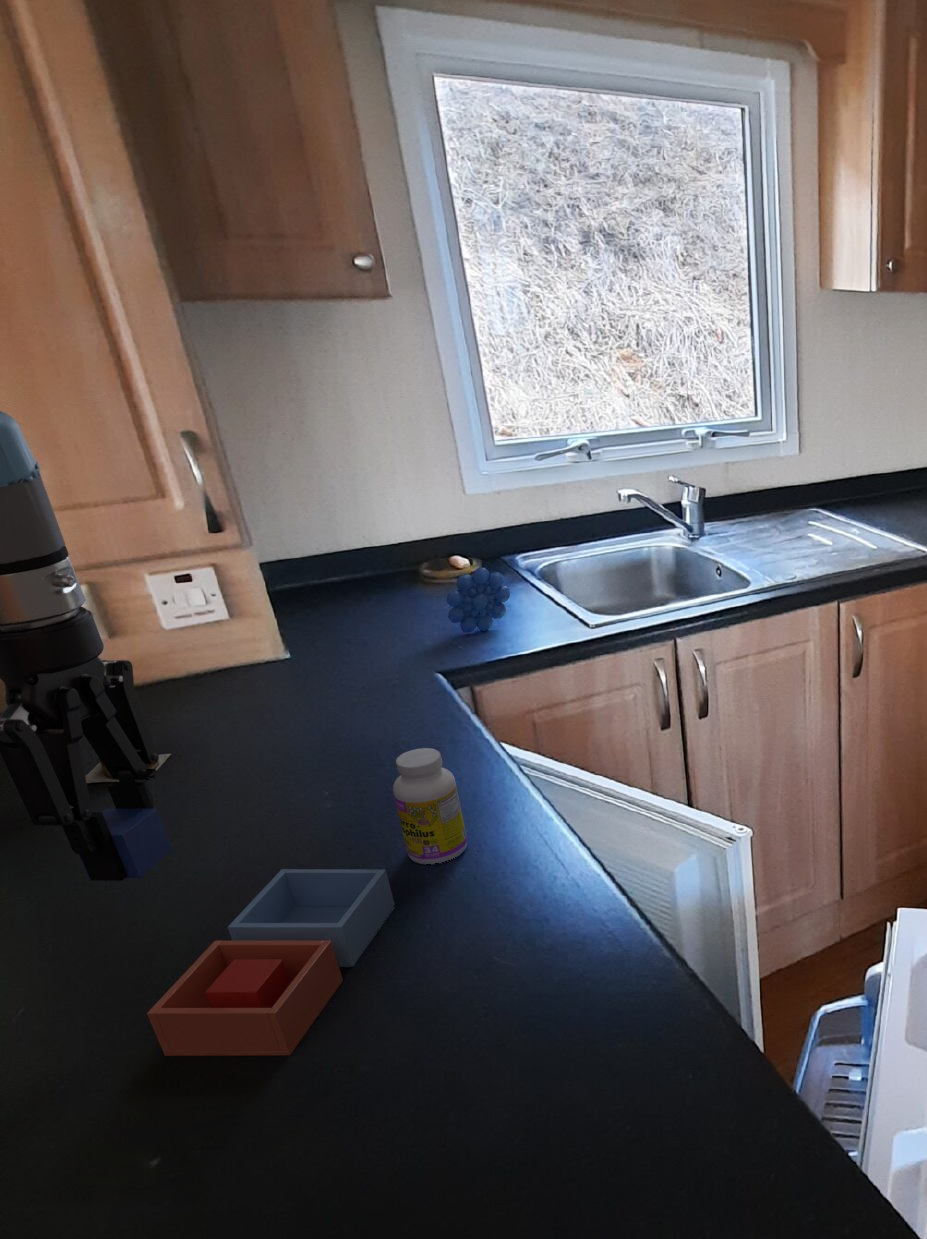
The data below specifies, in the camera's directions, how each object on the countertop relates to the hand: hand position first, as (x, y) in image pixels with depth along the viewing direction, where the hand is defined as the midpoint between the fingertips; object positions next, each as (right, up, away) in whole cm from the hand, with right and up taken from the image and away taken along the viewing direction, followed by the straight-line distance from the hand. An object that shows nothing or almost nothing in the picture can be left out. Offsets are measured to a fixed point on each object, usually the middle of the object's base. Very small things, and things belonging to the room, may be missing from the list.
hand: (129, 861), depth 87 cm
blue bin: (+9, -10, +14) cm, 19 cm away
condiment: (-36, +7, +45) cm, 58 cm away
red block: (+9, -15, +3) cm, 18 cm away
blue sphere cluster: (-8, +32, +96) cm, 102 cm away
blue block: (0, 0, 0) cm, 0 cm away
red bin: (+9, -15, +4) cm, 18 cm away
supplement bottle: (+15, -3, +29) cm, 32 cm away
